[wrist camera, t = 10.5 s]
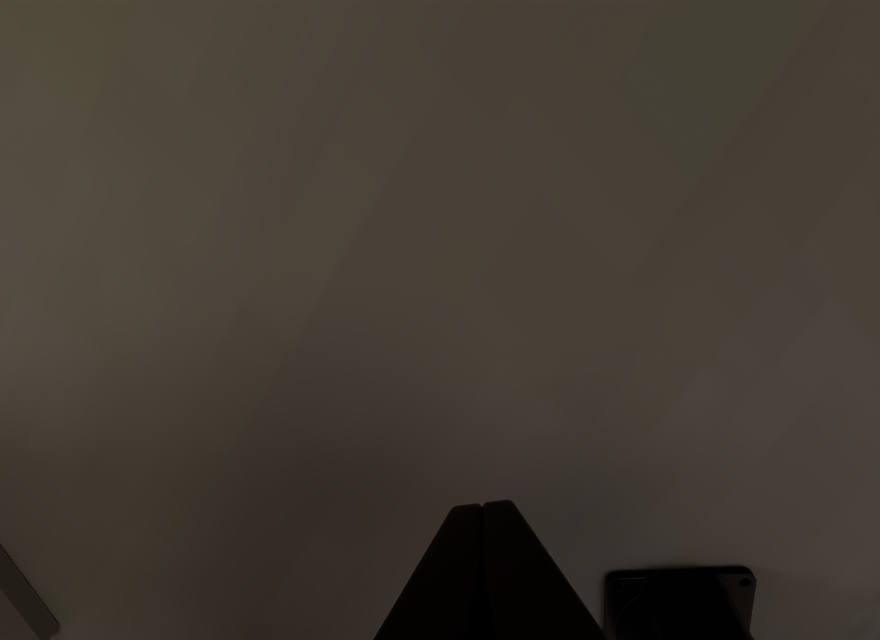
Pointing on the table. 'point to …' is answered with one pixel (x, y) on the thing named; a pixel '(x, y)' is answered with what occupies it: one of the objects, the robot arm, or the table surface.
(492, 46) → the table surface
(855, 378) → the table surface
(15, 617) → the dark grey curved stand
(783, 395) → the table surface
